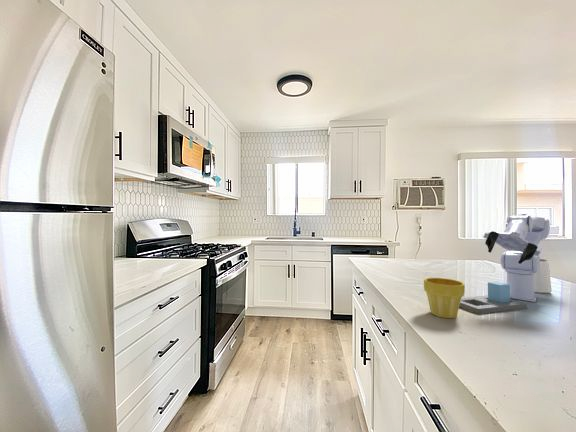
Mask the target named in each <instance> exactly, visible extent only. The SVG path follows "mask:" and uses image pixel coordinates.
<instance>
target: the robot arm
mask: <svg viewBox="0 0 576 432" xmlns="http://www.w3.org/2000/svg"><path fill="white" fill-rule="evenodd" d="M550 224H551V223H550V220H549V218H547V217H546V218H545V217H538V216H531V215H530V214H529V215H527V213H520V214H518V215H511V216H507V218H506V223H505V229H504V231H503V232H500V231H494V230H493V231H490V230H486V231H485V233H484V235H483V238H484V239H486V240H485V243H484V245H486V246H487V250H488V253H490V254H491V253H492V251H493V248H494V247H495V244H496V245H497V244H498V245H499V246H500V247H501V248H503V249H504V250H507V251H504V252H503V253H501V256H500V266H501V268H502V269H503V270H505V272H506V284H510V299H512V300H520V301H525V302H526V301H527V302H530V303H531V302H532V303H533V302H534V303H536V300H537V296H538V295H537V294H535V292H534V274H535V273H537V272H539V269H540V258H541V257H540V254H541V252H542V248H540V247H538V246H539V244H540V242H541V241H543V240H546V239H547V238H548V236H549V234H550V230H551V229H550V227H551V225H550Z"/></svg>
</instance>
